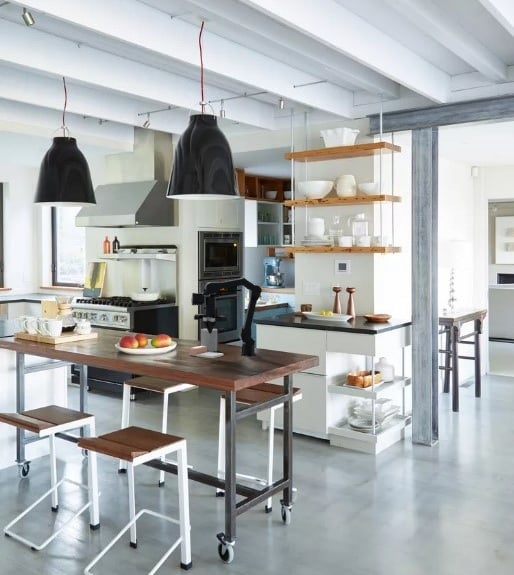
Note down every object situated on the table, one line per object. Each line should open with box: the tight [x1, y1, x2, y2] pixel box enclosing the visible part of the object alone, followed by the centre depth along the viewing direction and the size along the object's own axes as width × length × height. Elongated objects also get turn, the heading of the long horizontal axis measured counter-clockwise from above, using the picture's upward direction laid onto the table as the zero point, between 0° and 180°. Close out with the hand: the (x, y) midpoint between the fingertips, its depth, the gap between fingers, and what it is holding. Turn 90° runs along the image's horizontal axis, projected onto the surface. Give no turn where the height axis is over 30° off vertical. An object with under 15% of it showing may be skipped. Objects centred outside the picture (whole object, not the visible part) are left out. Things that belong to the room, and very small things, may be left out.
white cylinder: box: [200, 328, 218, 353], centre depth 371 cm, size 10×10×12 cm
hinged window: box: [196, 352, 224, 359], centre depth 353 cm, size 11×10×1 cm
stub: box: [189, 345, 207, 357], centre depth 357 cm, size 4×10×4 cm, turn 149°
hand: (210, 333), depth 352 cm, fingers closed
